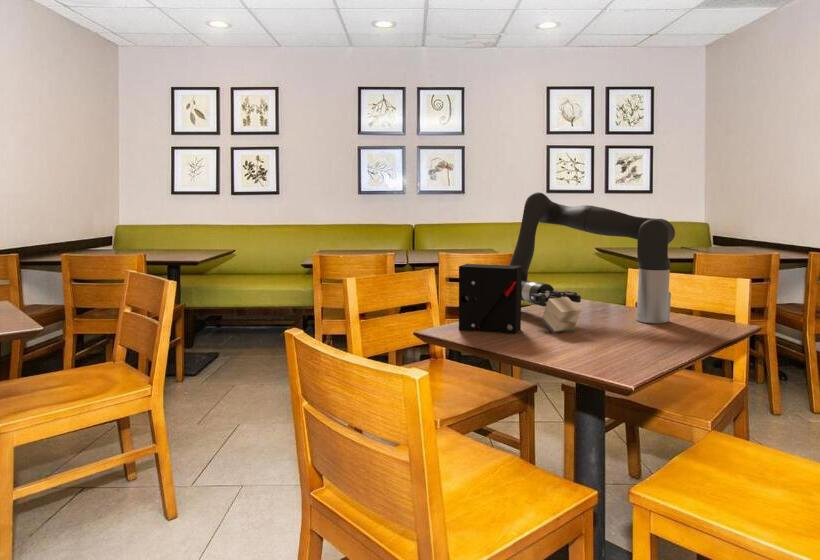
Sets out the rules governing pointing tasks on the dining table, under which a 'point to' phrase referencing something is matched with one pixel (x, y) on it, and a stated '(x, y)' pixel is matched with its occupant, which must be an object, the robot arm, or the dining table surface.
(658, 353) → the dining table surface
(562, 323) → the birch block
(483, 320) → the electrical component
